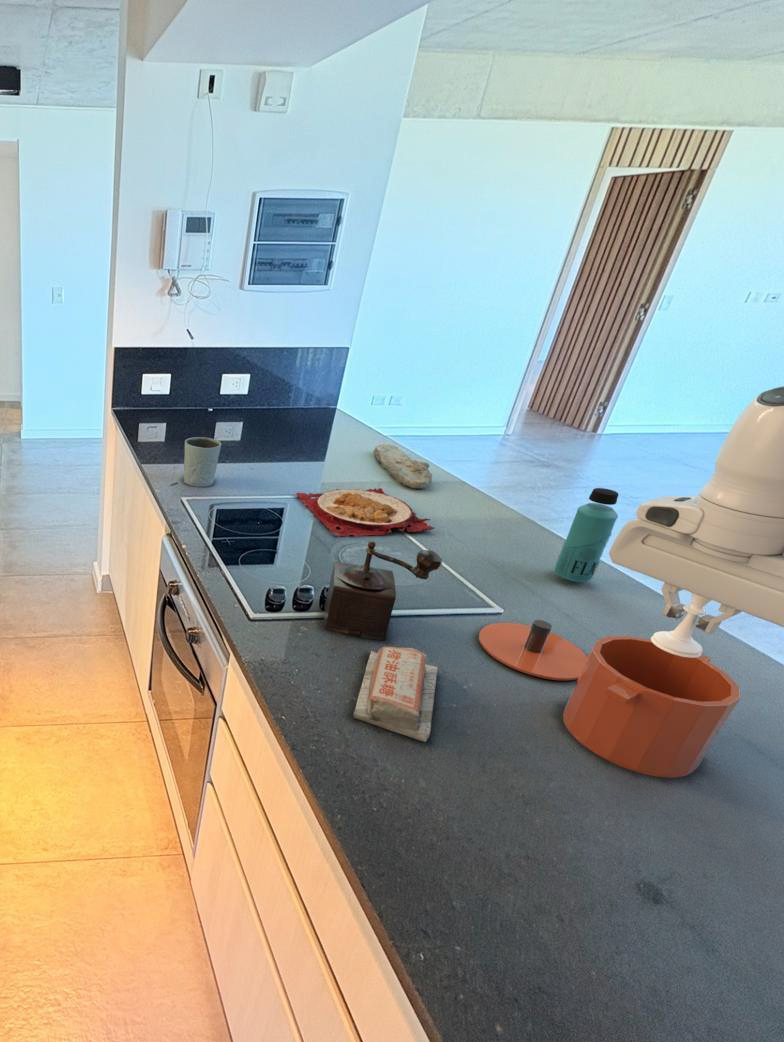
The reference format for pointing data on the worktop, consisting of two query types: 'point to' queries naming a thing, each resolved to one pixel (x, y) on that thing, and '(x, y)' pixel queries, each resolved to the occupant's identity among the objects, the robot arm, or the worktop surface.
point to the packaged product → (398, 692)
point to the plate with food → (362, 512)
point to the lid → (533, 650)
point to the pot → (649, 706)
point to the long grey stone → (403, 467)
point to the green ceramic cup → (200, 461)
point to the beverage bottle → (587, 537)
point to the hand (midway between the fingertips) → (687, 623)
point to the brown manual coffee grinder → (368, 594)
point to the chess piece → (683, 632)
